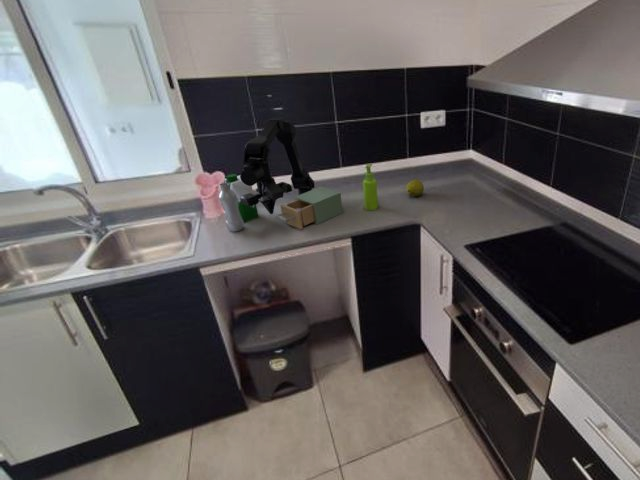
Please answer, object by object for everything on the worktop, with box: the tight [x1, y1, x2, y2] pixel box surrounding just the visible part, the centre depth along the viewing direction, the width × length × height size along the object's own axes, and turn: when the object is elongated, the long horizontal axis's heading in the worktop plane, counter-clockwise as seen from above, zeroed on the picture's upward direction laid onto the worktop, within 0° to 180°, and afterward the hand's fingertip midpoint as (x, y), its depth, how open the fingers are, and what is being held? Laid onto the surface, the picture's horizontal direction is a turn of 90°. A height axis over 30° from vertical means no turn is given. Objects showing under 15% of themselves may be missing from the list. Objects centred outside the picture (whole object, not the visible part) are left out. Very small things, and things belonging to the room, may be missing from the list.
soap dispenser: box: [362, 163, 379, 211], centre depth 170 cm, size 6×7×20 cm
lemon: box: [405, 179, 425, 197], centre depth 184 cm, size 11×8×8 cm
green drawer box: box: [294, 186, 344, 225], centre depth 166 cm, size 15×13×10 cm
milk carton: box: [224, 173, 259, 223], centre depth 162 cm, size 9×9×20 cm
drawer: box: [274, 199, 315, 230], centre depth 159 cm, size 18×11×8 cm, turn 143°
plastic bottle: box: [218, 181, 245, 232], centre depth 152 cm, size 6×7×20 cm
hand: (271, 213), depth 148 cm, fingers closed
